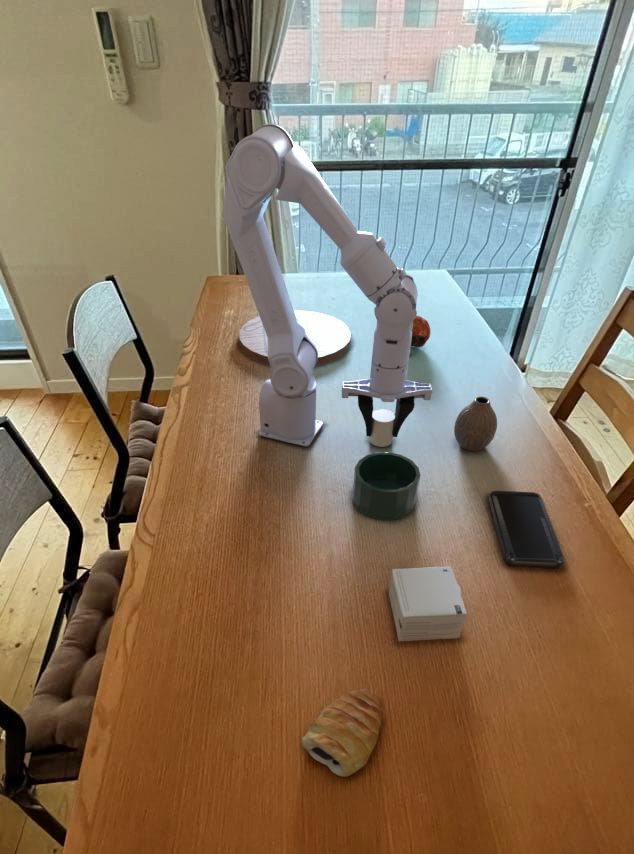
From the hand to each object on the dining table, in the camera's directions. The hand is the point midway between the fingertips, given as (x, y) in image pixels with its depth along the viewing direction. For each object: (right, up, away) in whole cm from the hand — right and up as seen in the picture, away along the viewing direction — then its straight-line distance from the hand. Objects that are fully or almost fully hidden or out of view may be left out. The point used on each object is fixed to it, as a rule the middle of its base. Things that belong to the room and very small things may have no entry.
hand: (381, 433), depth 96 cm
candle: (0, -1, +1) cm, 1 cm away
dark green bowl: (-1, -12, -10) cm, 16 cm away
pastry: (-9, -40, -38) cm, 55 cm away
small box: (+2, -28, -26) cm, 39 cm away
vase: (+16, -2, +1) cm, 16 cm away
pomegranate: (+10, +24, +27) cm, 37 cm away
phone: (+19, -17, -15) cm, 30 cm away
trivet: (-16, +26, +29) cm, 42 cm away
